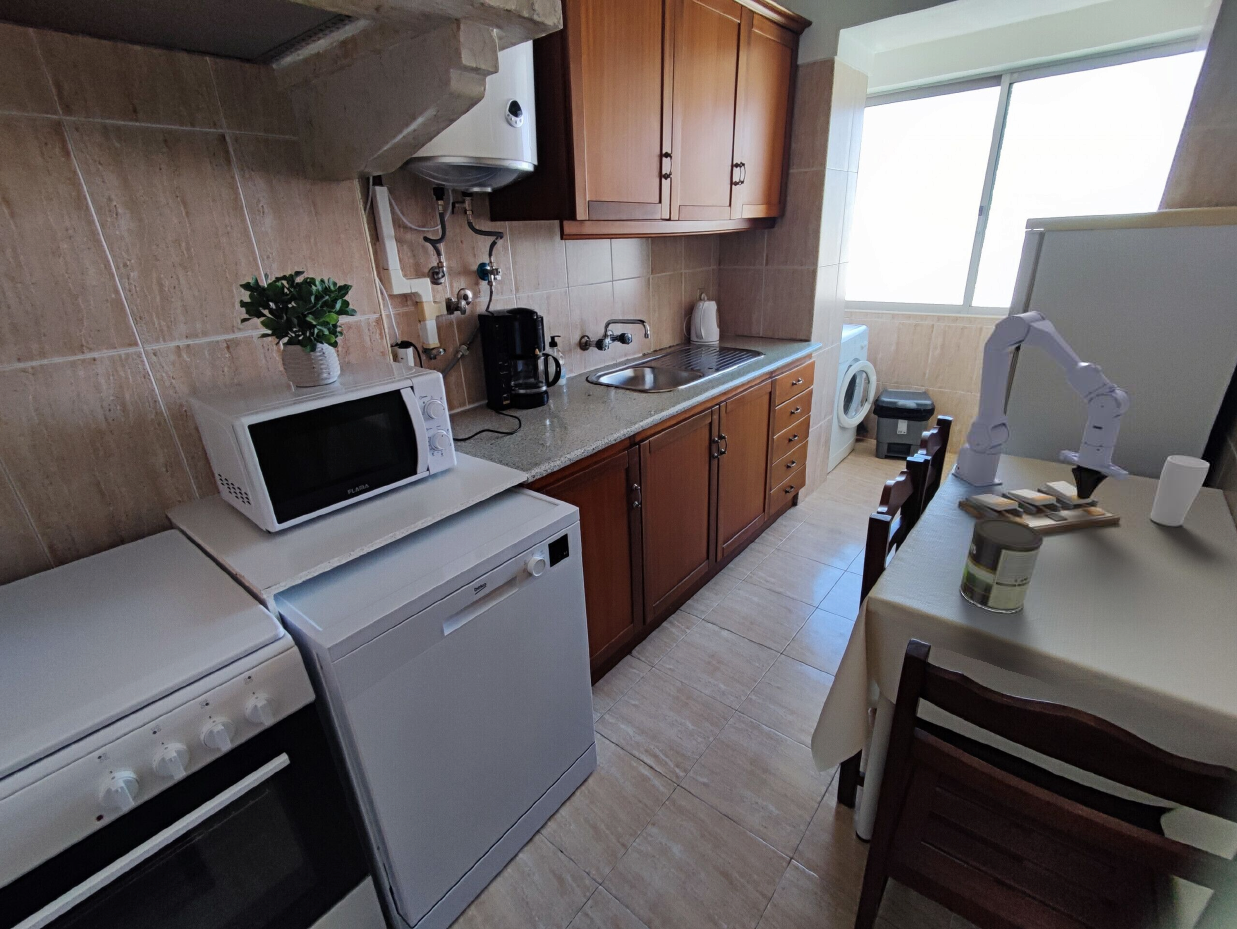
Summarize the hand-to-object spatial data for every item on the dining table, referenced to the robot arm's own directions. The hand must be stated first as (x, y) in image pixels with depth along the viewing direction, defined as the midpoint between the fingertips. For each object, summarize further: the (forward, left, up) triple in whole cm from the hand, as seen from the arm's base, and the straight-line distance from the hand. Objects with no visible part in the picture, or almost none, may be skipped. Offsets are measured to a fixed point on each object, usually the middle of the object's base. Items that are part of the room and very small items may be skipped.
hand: (1083, 497), depth 131 cm
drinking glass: (+8, +14, -4) cm, 17 cm away
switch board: (-2, -10, -4) cm, 11 cm away
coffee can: (+23, -44, -4) cm, 50 cm away
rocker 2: (-4, 0, -1) cm, 4 cm away
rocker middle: (-4, -10, -1) cm, 11 cm away
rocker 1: (-4, -20, -1) cm, 20 cm away
